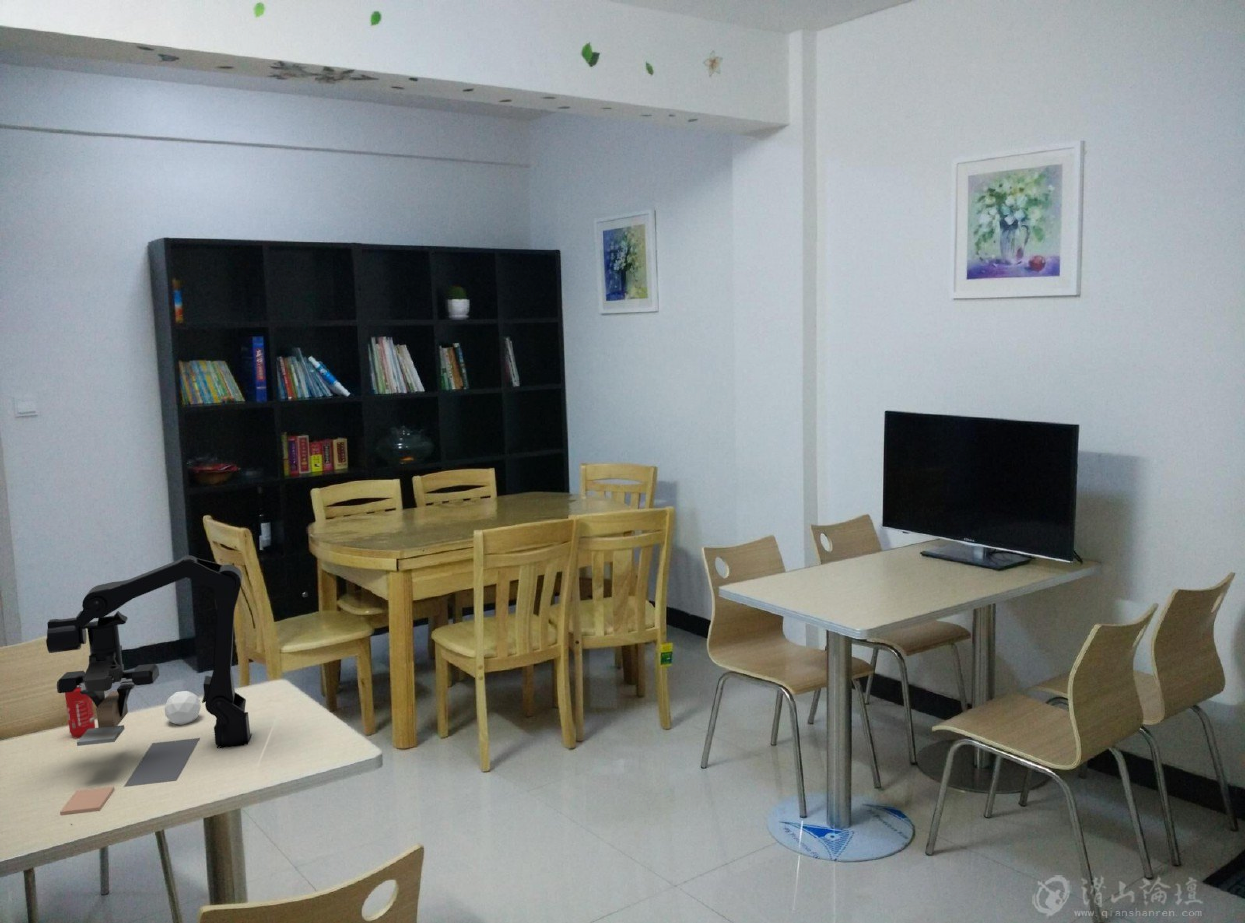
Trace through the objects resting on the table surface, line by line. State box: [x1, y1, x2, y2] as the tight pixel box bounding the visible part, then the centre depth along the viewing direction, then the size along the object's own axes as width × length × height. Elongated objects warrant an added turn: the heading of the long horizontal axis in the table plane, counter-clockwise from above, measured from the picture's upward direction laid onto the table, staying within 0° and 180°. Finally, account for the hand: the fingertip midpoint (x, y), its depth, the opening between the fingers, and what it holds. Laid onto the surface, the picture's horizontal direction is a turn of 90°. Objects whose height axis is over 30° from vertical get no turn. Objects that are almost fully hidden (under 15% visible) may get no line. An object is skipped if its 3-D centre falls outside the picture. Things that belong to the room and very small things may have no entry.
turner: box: [76, 690, 129, 747], centre depth 216 cm, size 17×7×5 cm, turn 10°
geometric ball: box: [164, 690, 202, 726], centre depth 240 cm, size 8×8×8 cm
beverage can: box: [64, 685, 96, 739], centre depth 236 cm, size 5×5×12 cm
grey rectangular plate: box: [123, 737, 201, 788], centre depth 219 cm, size 10×22×1 cm, turn 10°
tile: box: [60, 786, 116, 816], centre depth 201 cm, size 7×2×9 cm
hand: (113, 717), depth 219 cm, fingers closed on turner, 3 cm apart
